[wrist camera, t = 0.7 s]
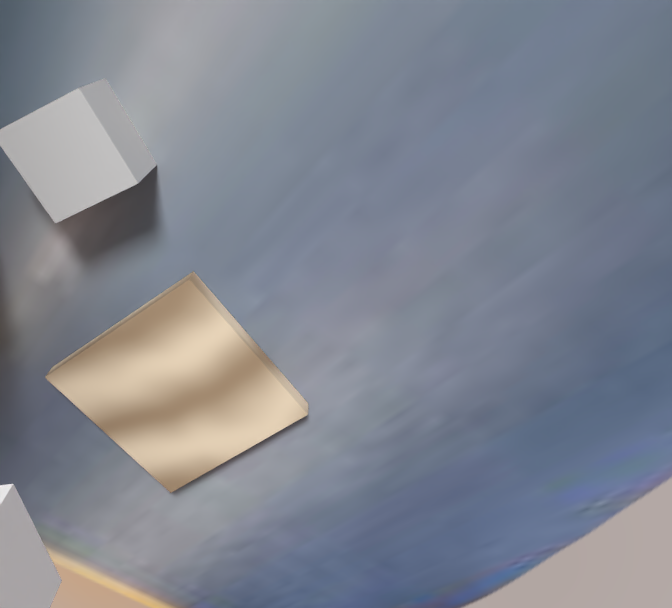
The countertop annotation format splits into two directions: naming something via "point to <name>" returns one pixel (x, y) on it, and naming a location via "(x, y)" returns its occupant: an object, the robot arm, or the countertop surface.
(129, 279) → the countertop surface
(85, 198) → the grey plastic box
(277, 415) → the beech board
